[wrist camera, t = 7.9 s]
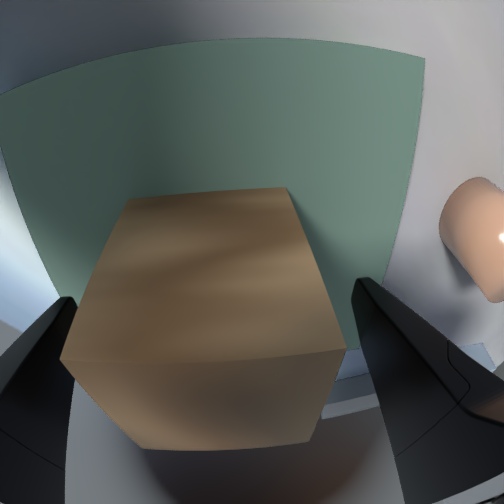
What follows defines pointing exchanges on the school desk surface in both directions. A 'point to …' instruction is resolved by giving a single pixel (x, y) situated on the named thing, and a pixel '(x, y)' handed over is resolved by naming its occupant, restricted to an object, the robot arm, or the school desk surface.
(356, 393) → the gray rectangular block
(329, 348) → the walnut block
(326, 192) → the mat
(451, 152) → the school desk surface
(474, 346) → the eraser block
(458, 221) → the peach rounded cylinder
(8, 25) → the school desk surface
